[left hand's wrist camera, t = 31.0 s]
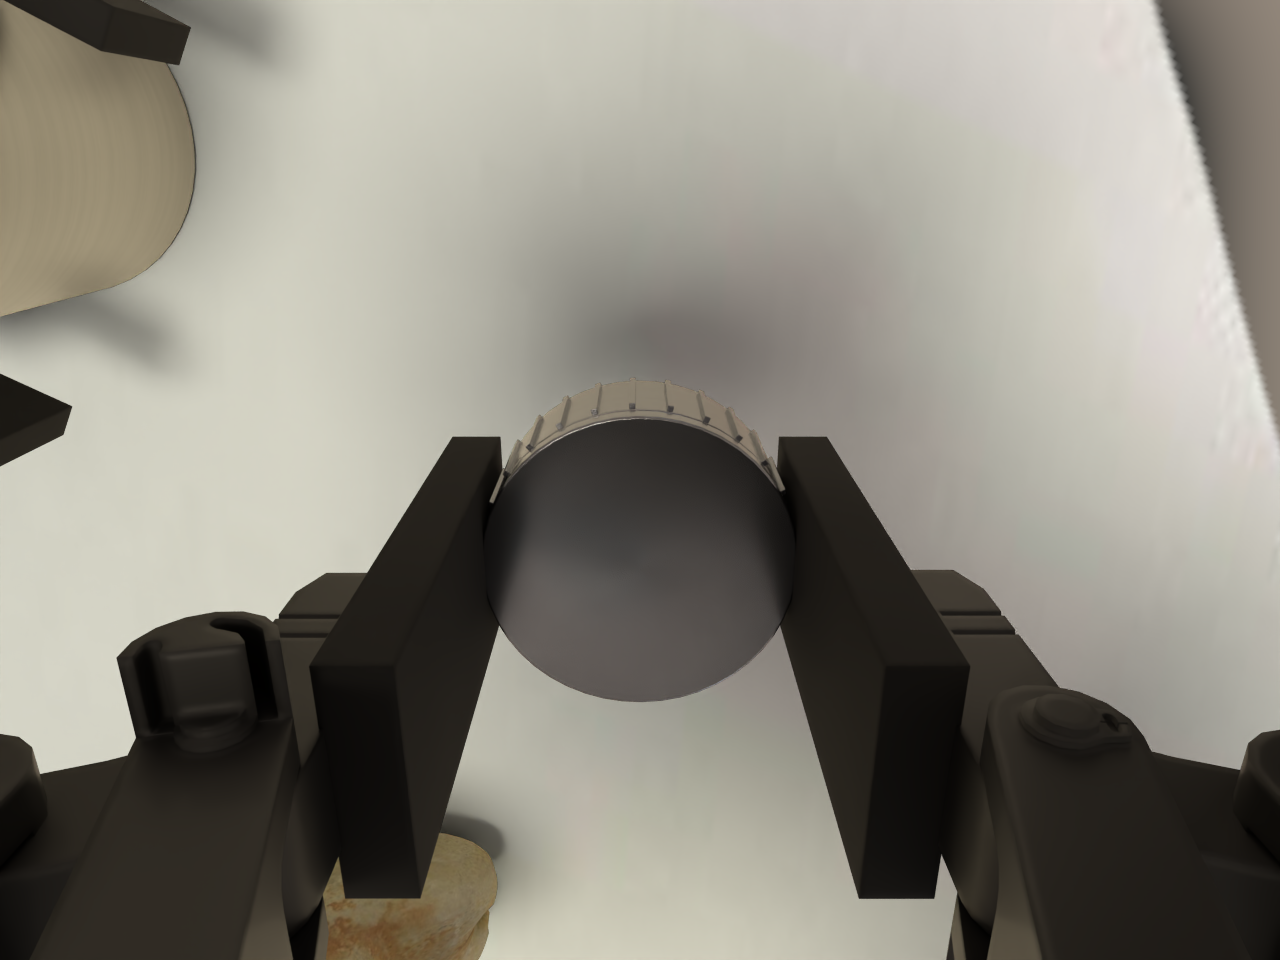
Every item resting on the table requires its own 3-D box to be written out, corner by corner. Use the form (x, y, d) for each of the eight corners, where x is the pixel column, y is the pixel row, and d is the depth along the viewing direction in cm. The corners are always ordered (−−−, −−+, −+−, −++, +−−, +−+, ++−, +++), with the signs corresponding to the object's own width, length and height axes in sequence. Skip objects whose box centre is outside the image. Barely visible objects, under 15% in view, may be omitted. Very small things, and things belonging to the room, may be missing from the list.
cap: (820, 415, 14) (847, 456, 12) (736, 664, 15) (749, 733, 14) (528, 344, 13) (511, 376, 12) (474, 606, 15) (451, 670, 13)
